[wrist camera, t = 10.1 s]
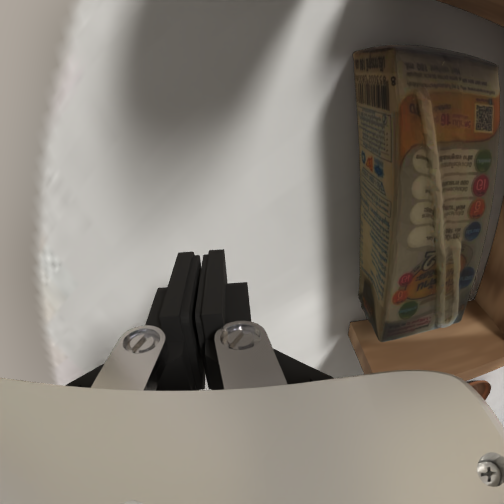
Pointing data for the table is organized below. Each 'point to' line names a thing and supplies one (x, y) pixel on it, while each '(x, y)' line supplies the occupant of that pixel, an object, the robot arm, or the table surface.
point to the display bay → (476, 312)
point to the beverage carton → (423, 182)
